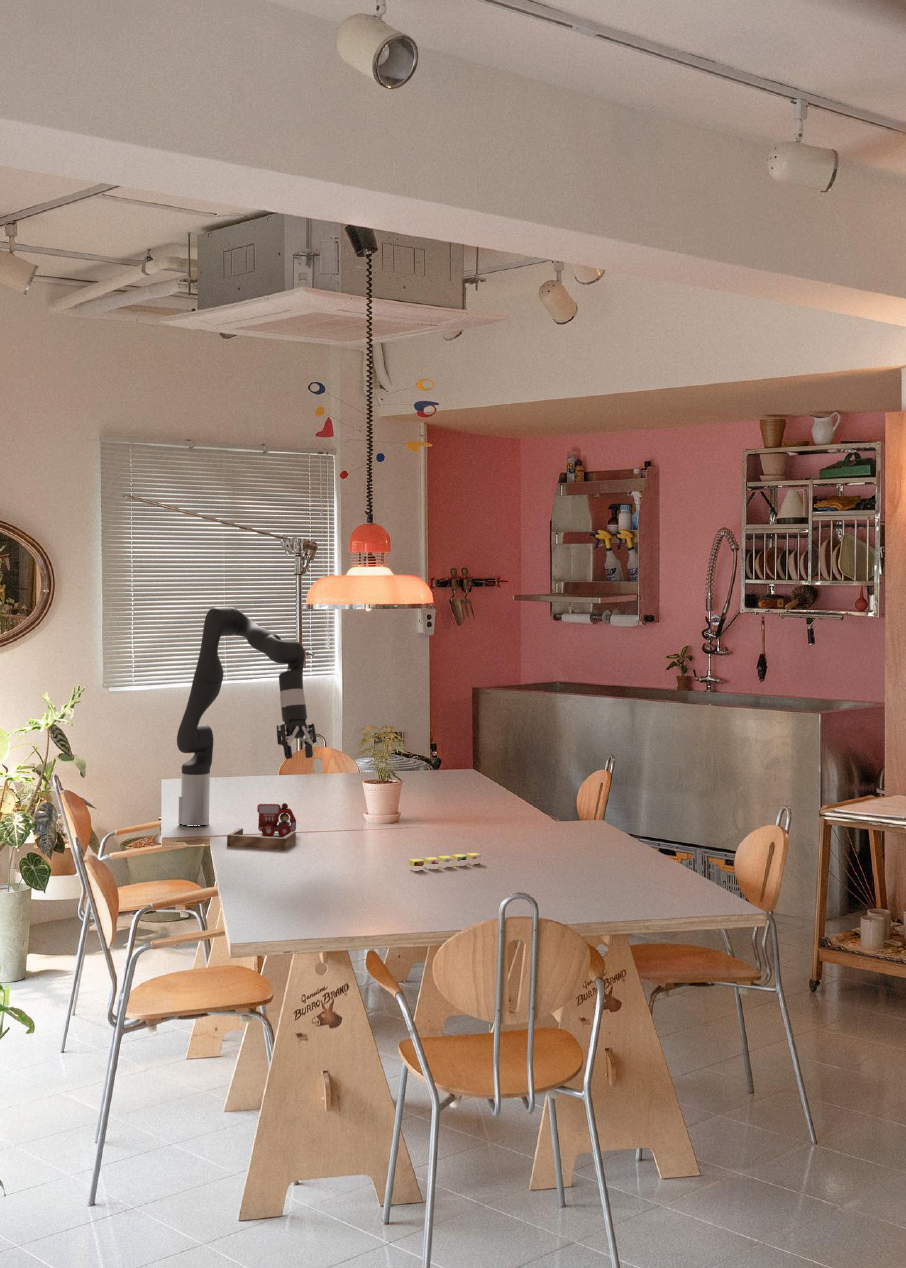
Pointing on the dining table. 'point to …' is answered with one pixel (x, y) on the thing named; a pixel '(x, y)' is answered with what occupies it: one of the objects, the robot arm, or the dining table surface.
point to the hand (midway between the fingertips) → (299, 758)
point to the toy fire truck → (275, 819)
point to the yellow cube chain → (443, 859)
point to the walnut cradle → (260, 841)
